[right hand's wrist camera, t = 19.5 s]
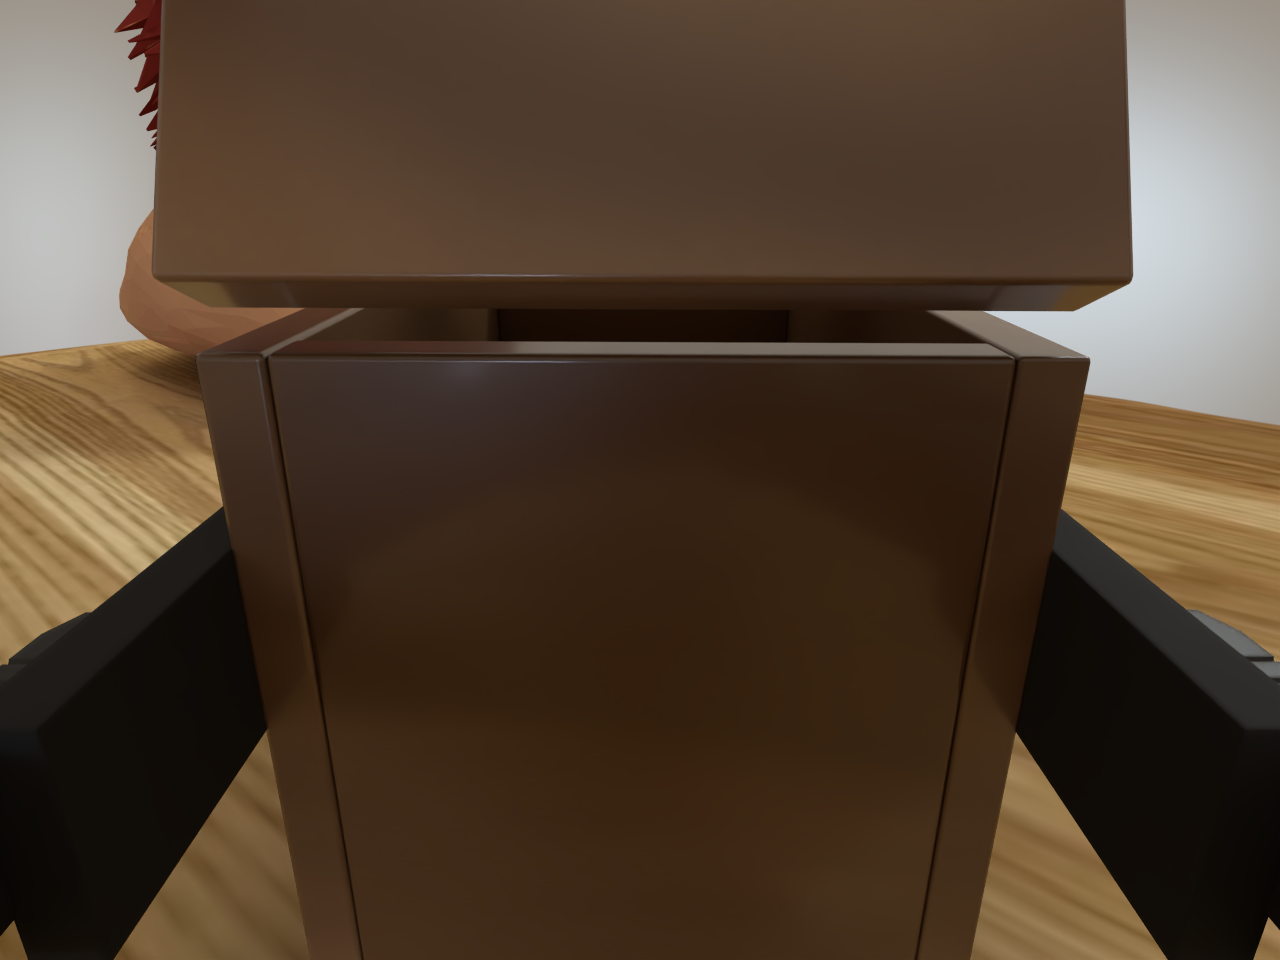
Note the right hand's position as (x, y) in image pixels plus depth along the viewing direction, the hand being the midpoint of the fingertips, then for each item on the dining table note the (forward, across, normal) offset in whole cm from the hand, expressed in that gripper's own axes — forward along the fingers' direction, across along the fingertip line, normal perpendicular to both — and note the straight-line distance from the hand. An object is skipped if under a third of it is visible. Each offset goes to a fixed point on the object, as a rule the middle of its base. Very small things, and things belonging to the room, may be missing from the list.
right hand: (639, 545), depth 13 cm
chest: (+5, 0, -7) cm, 9 cm away
